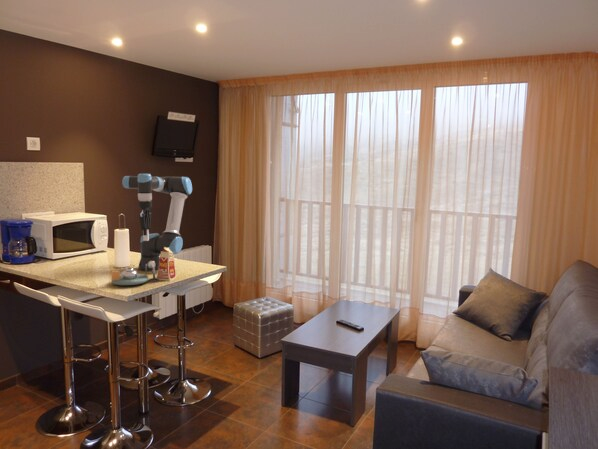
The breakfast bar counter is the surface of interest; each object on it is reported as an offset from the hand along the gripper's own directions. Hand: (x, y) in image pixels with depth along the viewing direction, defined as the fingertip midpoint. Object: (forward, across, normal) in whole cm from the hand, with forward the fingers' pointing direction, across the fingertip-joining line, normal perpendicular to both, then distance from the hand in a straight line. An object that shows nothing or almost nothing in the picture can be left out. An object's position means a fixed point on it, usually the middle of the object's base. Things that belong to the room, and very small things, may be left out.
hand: (146, 240), depth 269 cm
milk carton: (+25, -8, +9) cm, 28 cm away
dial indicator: (+25, 0, +3) cm, 25 cm away
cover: (+21, +6, -8) cm, 23 cm away
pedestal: (+24, +7, -7) cm, 26 cm away
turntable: (+23, +7, -7) cm, 25 cm away
